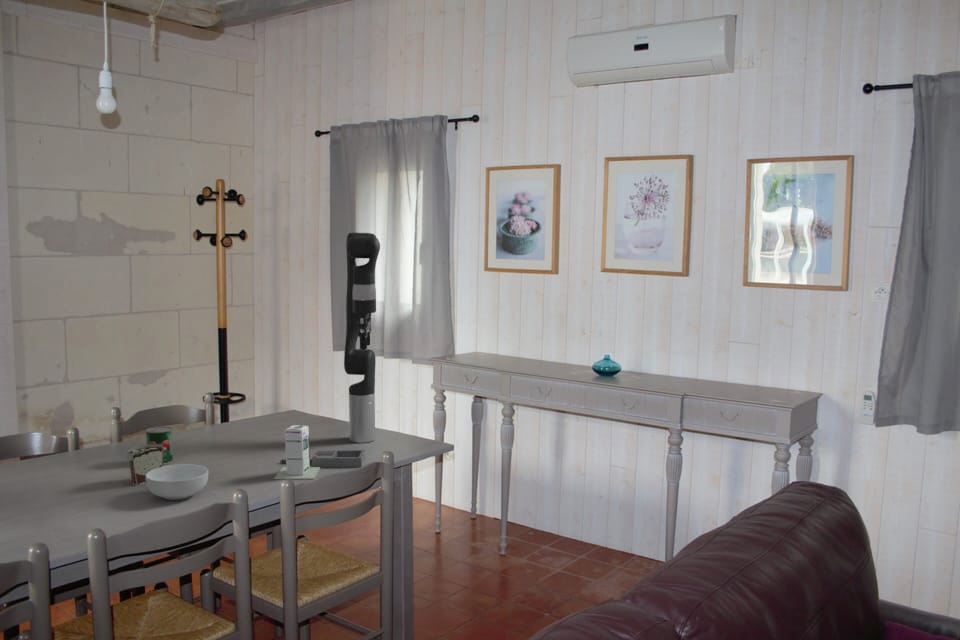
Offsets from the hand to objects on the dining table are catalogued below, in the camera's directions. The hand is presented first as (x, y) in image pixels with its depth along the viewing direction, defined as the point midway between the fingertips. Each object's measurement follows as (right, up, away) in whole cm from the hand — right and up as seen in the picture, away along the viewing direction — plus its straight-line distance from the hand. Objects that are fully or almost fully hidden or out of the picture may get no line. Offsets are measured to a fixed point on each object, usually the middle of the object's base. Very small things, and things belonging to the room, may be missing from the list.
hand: (365, 347), depth 269 cm
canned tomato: (-68, -38, +1) cm, 78 cm away
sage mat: (-19, -39, -12) cm, 45 cm away
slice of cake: (-65, -40, -19) cm, 79 cm away
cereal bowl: (-49, -42, -33) cm, 73 cm away
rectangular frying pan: (-14, -38, 0) cm, 41 cm away
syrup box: (-19, -39, -12) cm, 45 cm away
